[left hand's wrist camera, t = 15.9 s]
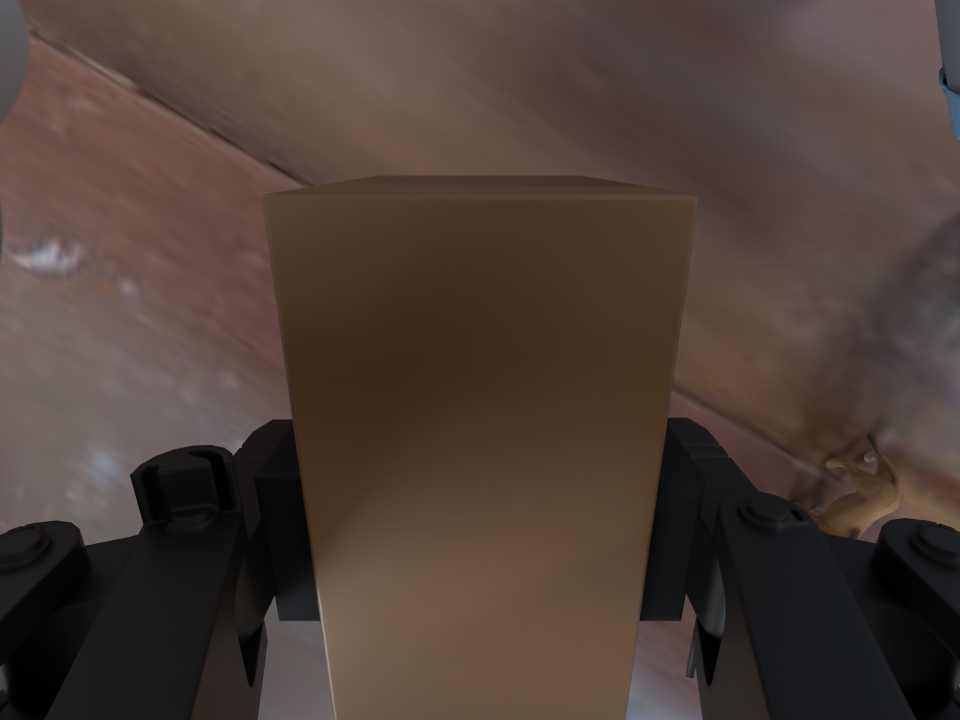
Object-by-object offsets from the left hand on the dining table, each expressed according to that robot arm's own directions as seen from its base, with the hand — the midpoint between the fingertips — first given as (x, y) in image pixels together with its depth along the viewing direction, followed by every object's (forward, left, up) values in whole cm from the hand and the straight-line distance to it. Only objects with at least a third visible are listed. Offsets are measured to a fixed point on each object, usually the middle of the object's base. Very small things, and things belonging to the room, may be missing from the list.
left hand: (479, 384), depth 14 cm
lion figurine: (-9, +45, -34) cm, 57 cm away
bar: (+17, +18, -1) cm, 25 cm away
